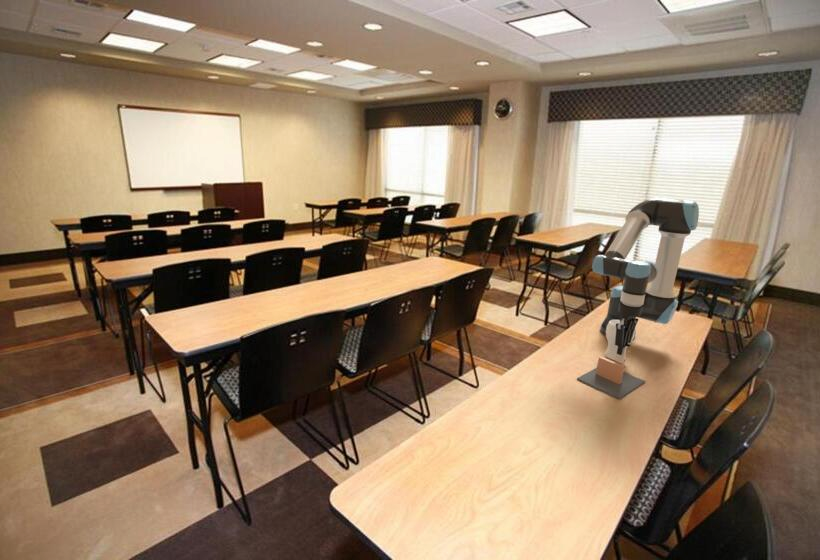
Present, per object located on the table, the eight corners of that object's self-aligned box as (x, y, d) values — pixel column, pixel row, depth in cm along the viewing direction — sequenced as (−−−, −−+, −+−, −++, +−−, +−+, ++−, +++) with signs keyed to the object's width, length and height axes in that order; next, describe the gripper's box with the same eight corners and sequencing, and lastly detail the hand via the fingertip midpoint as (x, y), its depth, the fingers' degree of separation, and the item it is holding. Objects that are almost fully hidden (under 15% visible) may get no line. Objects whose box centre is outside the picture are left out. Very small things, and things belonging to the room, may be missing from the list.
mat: (604, 364, 164) (604, 363, 164) (645, 382, 152) (645, 381, 152) (576, 379, 152) (577, 378, 152) (619, 399, 140) (619, 398, 140)
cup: (626, 365, 164) (633, 331, 160) (598, 357, 170) (604, 324, 166) (631, 356, 172) (638, 323, 168) (604, 348, 178) (610, 317, 174)
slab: (598, 372, 157) (601, 356, 155) (621, 383, 150) (624, 366, 148) (595, 373, 156) (598, 357, 154) (619, 384, 149) (622, 367, 147)
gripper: (629, 297, 154) (617, 353, 161) (612, 303, 147) (600, 361, 154) (649, 303, 149) (637, 360, 156) (633, 310, 141) (620, 370, 148)
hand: (619, 361), depth 155 cm, fingers closed
